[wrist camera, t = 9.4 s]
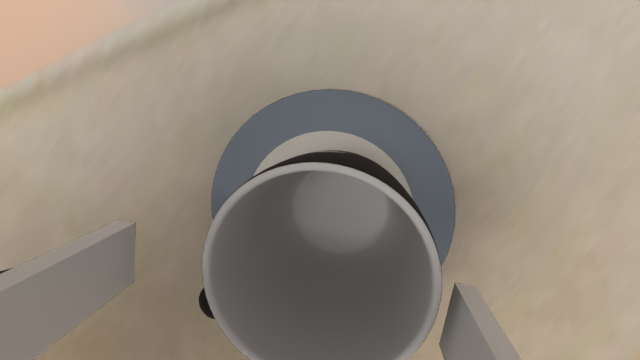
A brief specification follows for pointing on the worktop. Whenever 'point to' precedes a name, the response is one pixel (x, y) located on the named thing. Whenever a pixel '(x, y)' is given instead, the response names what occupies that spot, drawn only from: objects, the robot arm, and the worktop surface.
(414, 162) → the saucer
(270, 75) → the worktop surface
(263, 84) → the worktop surface
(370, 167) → the mug
